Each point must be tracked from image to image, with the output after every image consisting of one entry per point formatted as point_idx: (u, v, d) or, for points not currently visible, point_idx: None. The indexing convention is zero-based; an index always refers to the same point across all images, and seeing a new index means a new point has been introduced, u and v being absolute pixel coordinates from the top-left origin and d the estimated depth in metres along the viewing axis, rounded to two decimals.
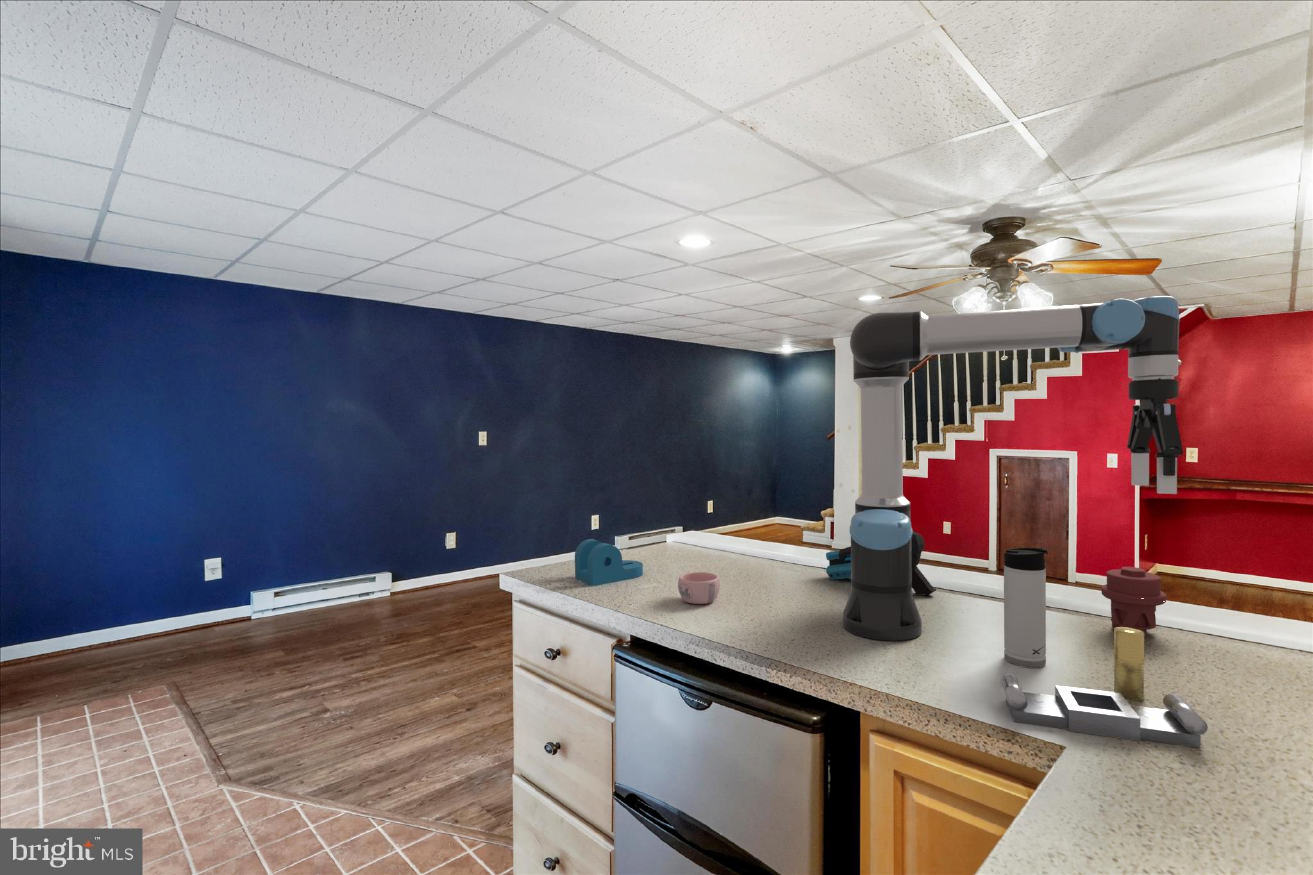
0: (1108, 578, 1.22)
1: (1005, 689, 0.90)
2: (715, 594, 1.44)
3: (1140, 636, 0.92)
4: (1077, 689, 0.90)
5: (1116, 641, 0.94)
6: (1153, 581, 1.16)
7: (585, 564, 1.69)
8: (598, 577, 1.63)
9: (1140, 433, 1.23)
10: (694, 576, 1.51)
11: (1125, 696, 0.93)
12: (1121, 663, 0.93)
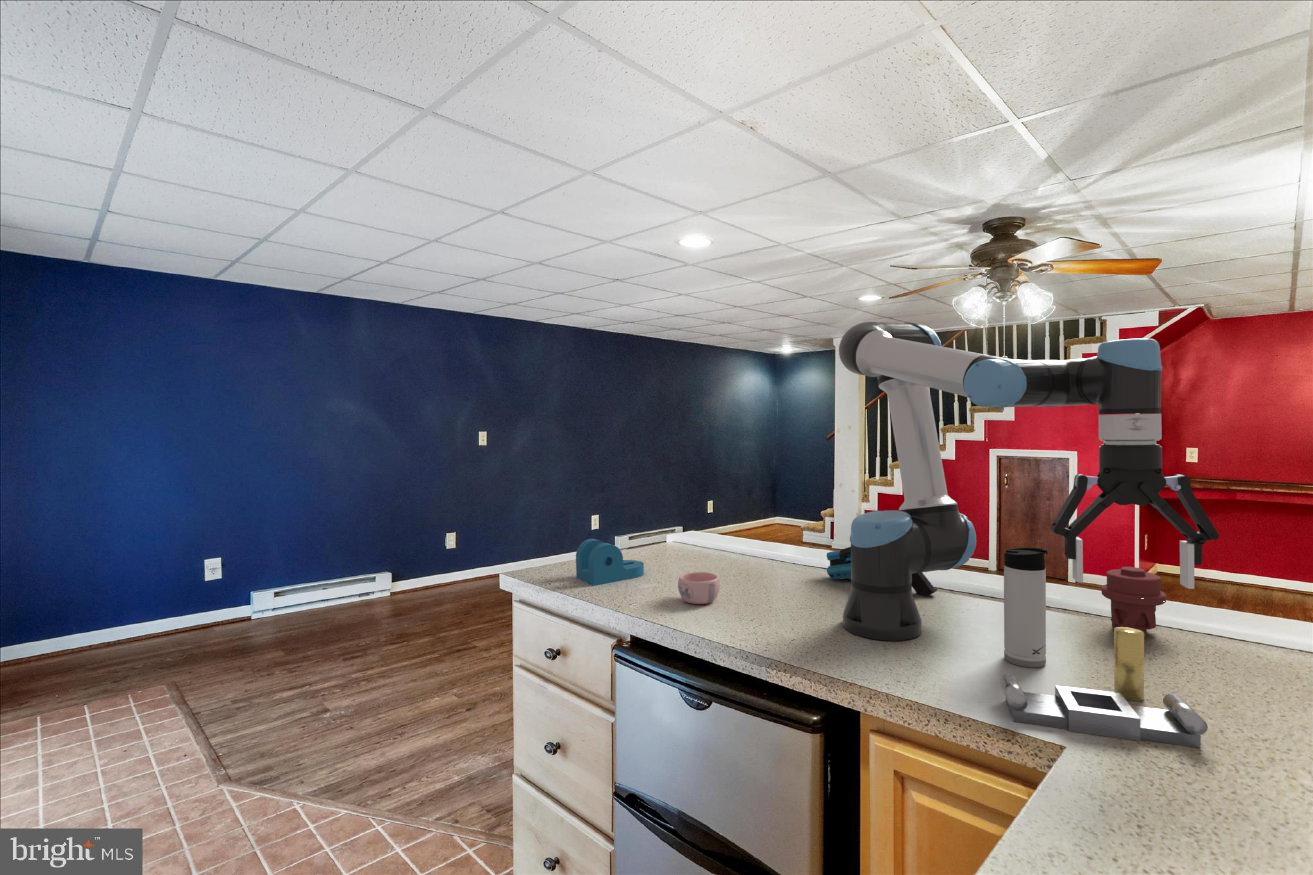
0: (1108, 578, 1.22)
1: (1005, 689, 0.90)
2: (715, 594, 1.44)
3: (1140, 636, 0.92)
4: (1077, 689, 0.90)
5: (1116, 641, 0.94)
6: (1153, 581, 1.16)
7: (586, 564, 1.70)
8: (599, 577, 1.63)
9: (1160, 512, 0.92)
10: (694, 576, 1.51)
11: (1125, 696, 0.93)
12: (1121, 663, 0.93)
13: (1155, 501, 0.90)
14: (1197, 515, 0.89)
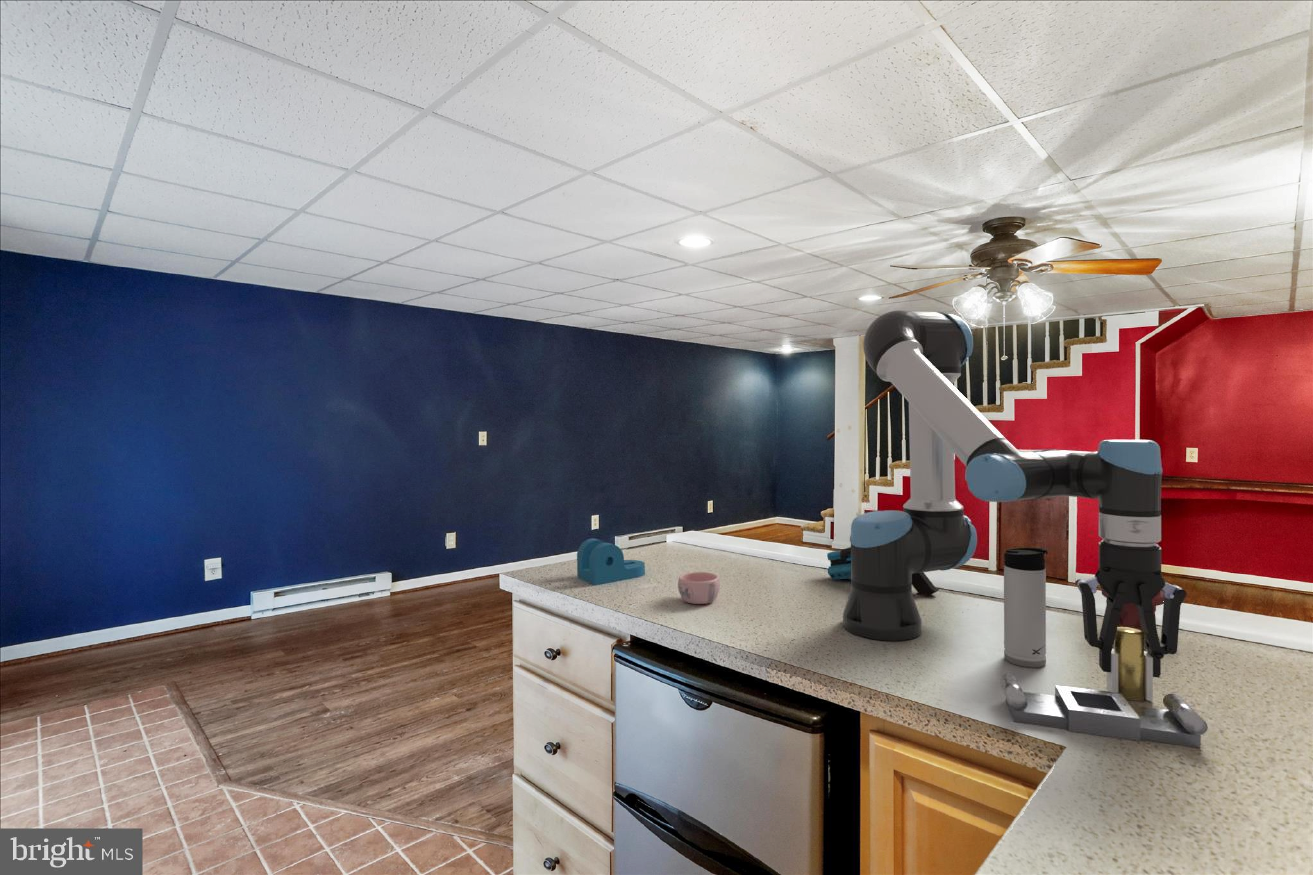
0: None
1: (1005, 689, 0.90)
2: (715, 594, 1.44)
3: (1140, 636, 0.92)
4: (1077, 689, 0.90)
5: (1116, 641, 0.94)
6: None
7: (587, 564, 1.70)
8: (600, 577, 1.64)
9: (1139, 615, 0.94)
10: (694, 576, 1.51)
11: (1125, 696, 0.93)
12: (1121, 663, 0.93)
13: (1144, 604, 0.91)
14: (1170, 627, 0.91)
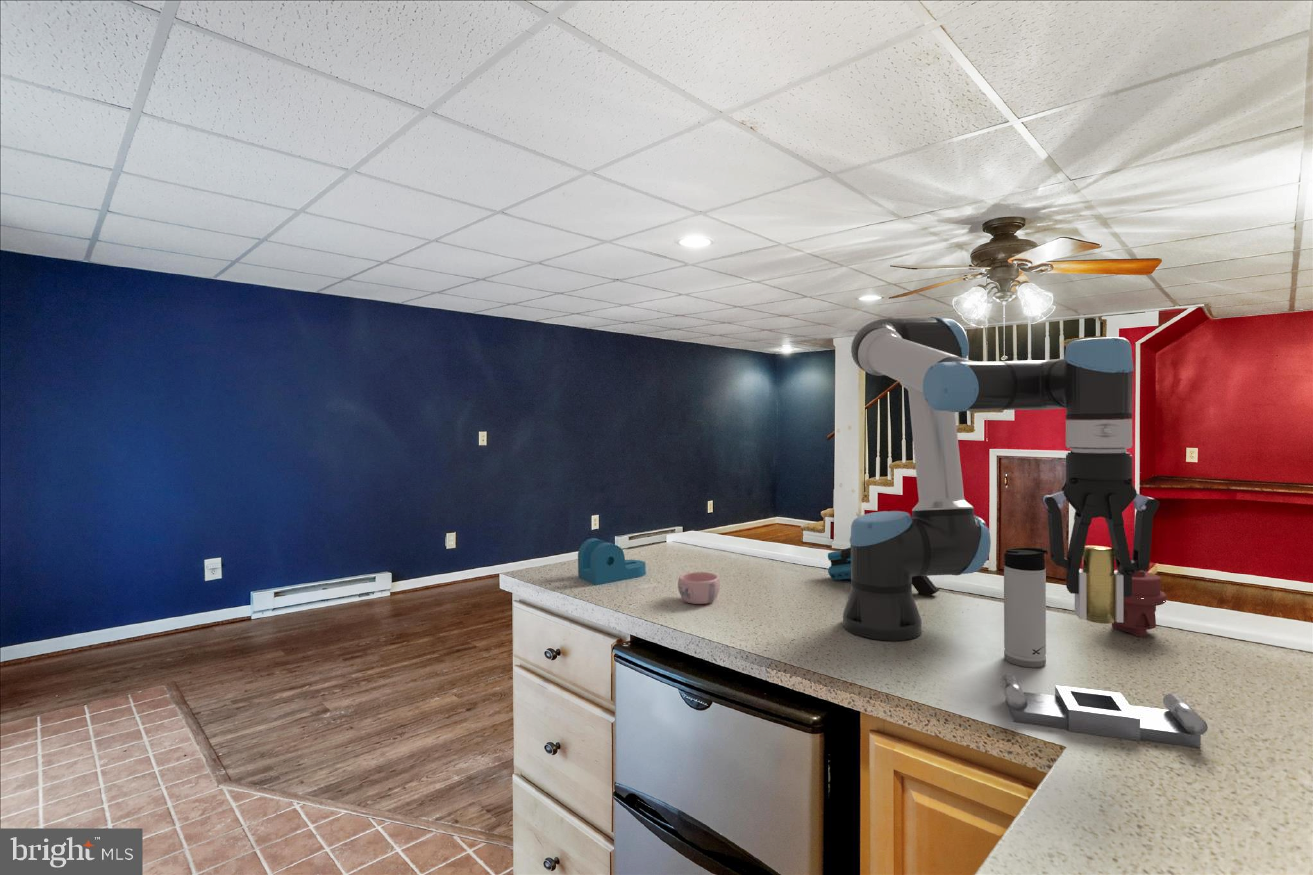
0: None
1: (1005, 689, 0.90)
2: (715, 594, 1.44)
3: (1110, 552, 0.84)
4: (1077, 689, 0.90)
5: (1084, 560, 0.86)
6: (1153, 581, 1.16)
7: (588, 564, 1.70)
8: (601, 576, 1.64)
9: (1109, 531, 0.86)
10: (694, 576, 1.51)
11: (1094, 619, 0.85)
12: (1089, 583, 0.85)
13: (1113, 516, 0.84)
14: (1141, 541, 0.83)
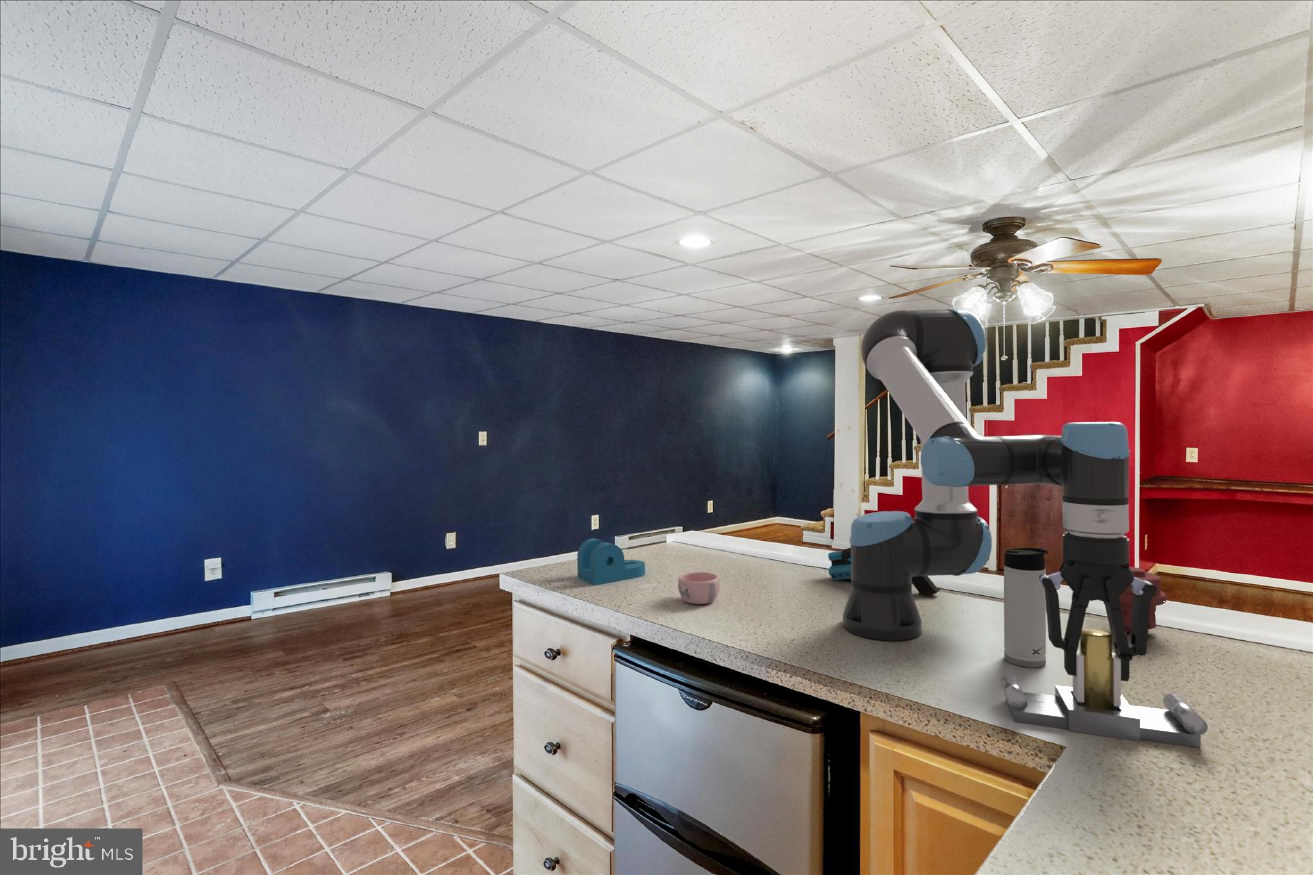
0: None
1: (1005, 689, 0.90)
2: (715, 594, 1.44)
3: (1107, 639, 0.84)
4: None
5: (1082, 644, 0.86)
6: (1153, 581, 1.16)
7: (587, 564, 1.70)
8: (601, 576, 1.64)
9: (1107, 613, 0.86)
10: (694, 576, 1.51)
11: (1092, 705, 0.85)
12: (1087, 669, 0.85)
13: (1110, 601, 0.84)
14: (1139, 626, 0.83)
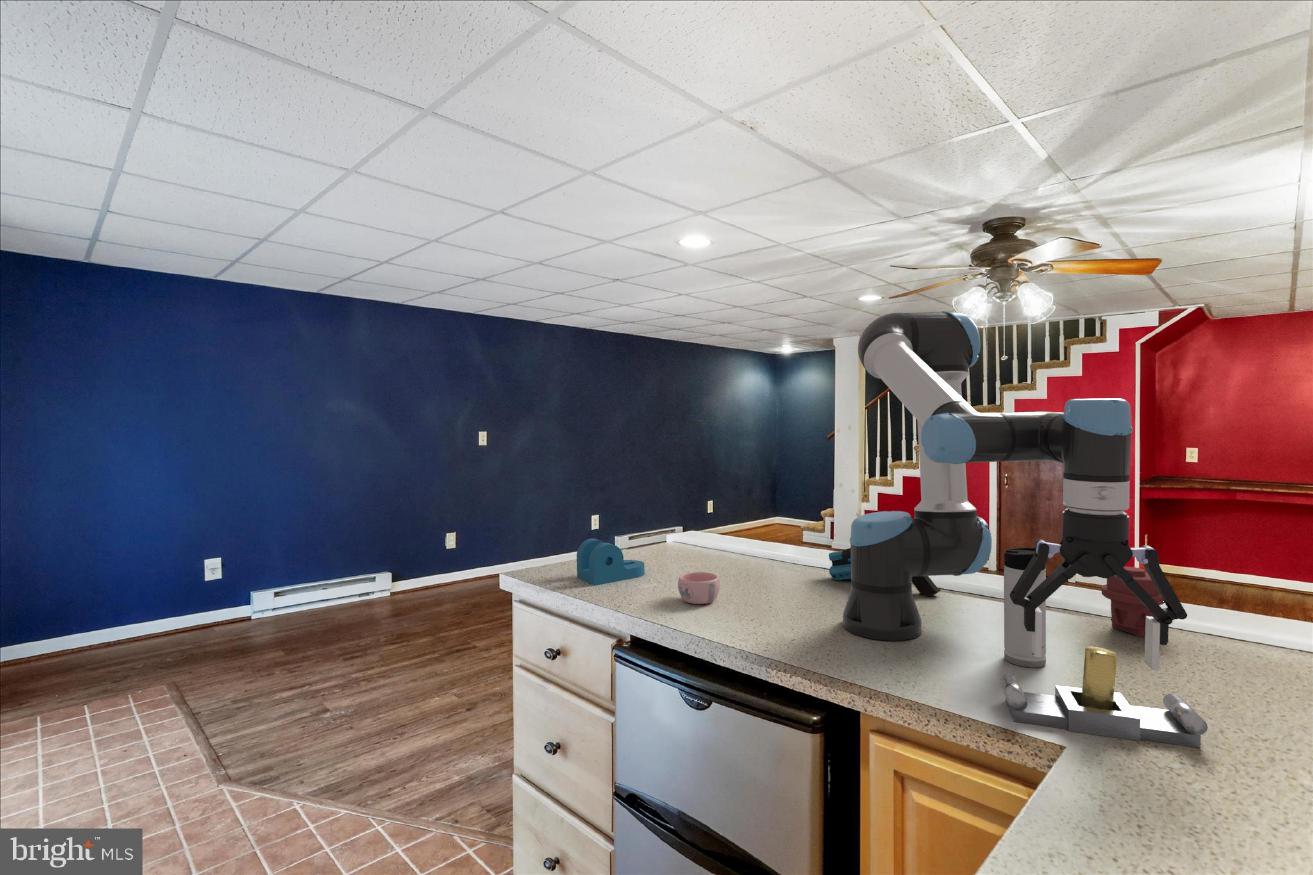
0: None
1: (1005, 689, 0.90)
2: (715, 594, 1.44)
3: (1112, 658, 0.84)
4: (1077, 689, 0.90)
5: (1086, 662, 0.86)
6: None
7: (587, 564, 1.70)
8: (600, 577, 1.64)
9: (1126, 585, 0.85)
10: (694, 576, 1.51)
11: None
12: (1089, 686, 0.85)
13: (1120, 575, 0.83)
14: (1164, 593, 0.82)
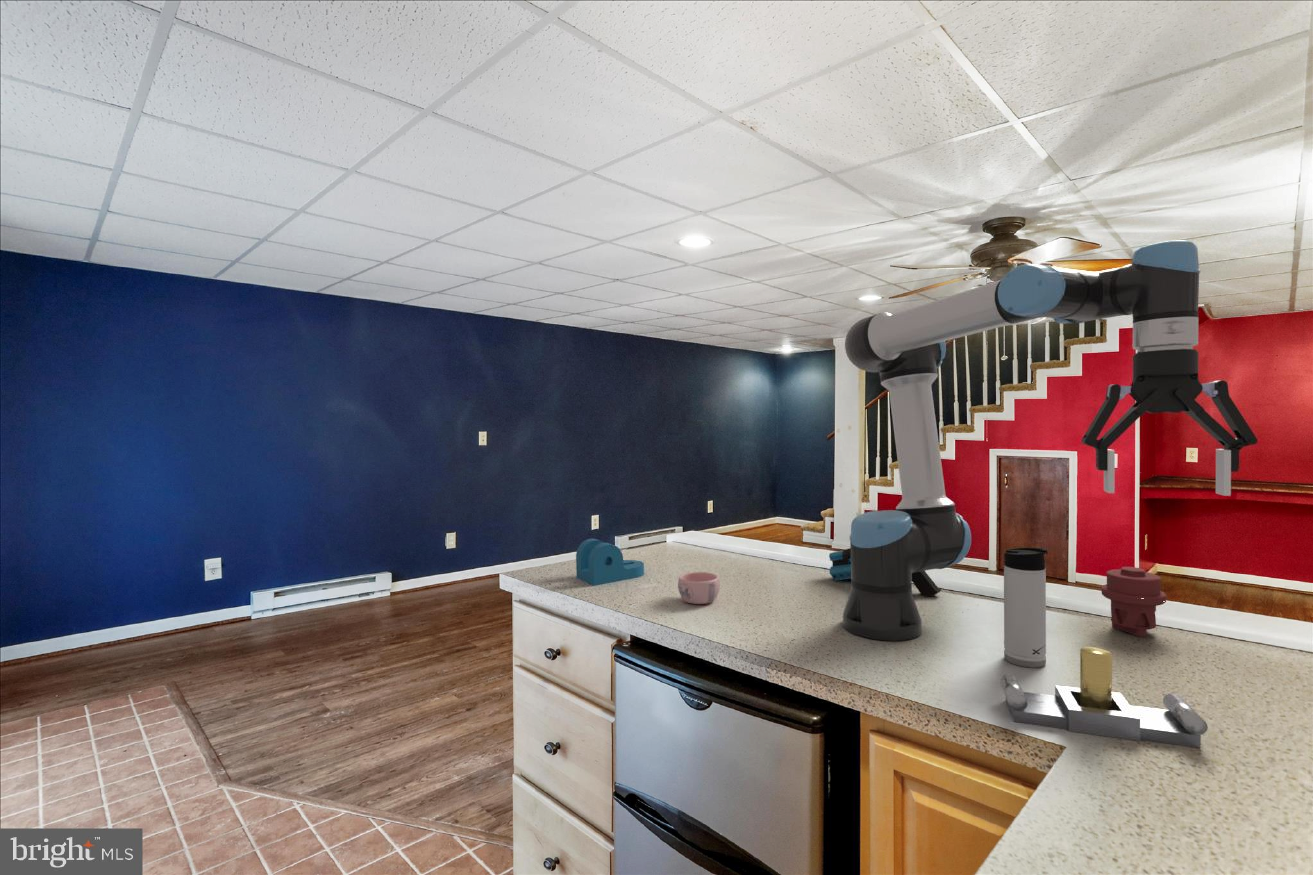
0: (1108, 578, 1.22)
1: (1005, 689, 0.90)
2: (715, 594, 1.44)
3: (1107, 658, 0.84)
4: (1077, 689, 0.90)
5: (1082, 663, 0.86)
6: (1153, 581, 1.16)
7: (586, 564, 1.70)
8: (599, 577, 1.63)
9: (1196, 420, 0.90)
10: (694, 576, 1.51)
11: None
12: (1087, 687, 0.85)
13: (1191, 407, 0.89)
14: (1234, 421, 0.87)
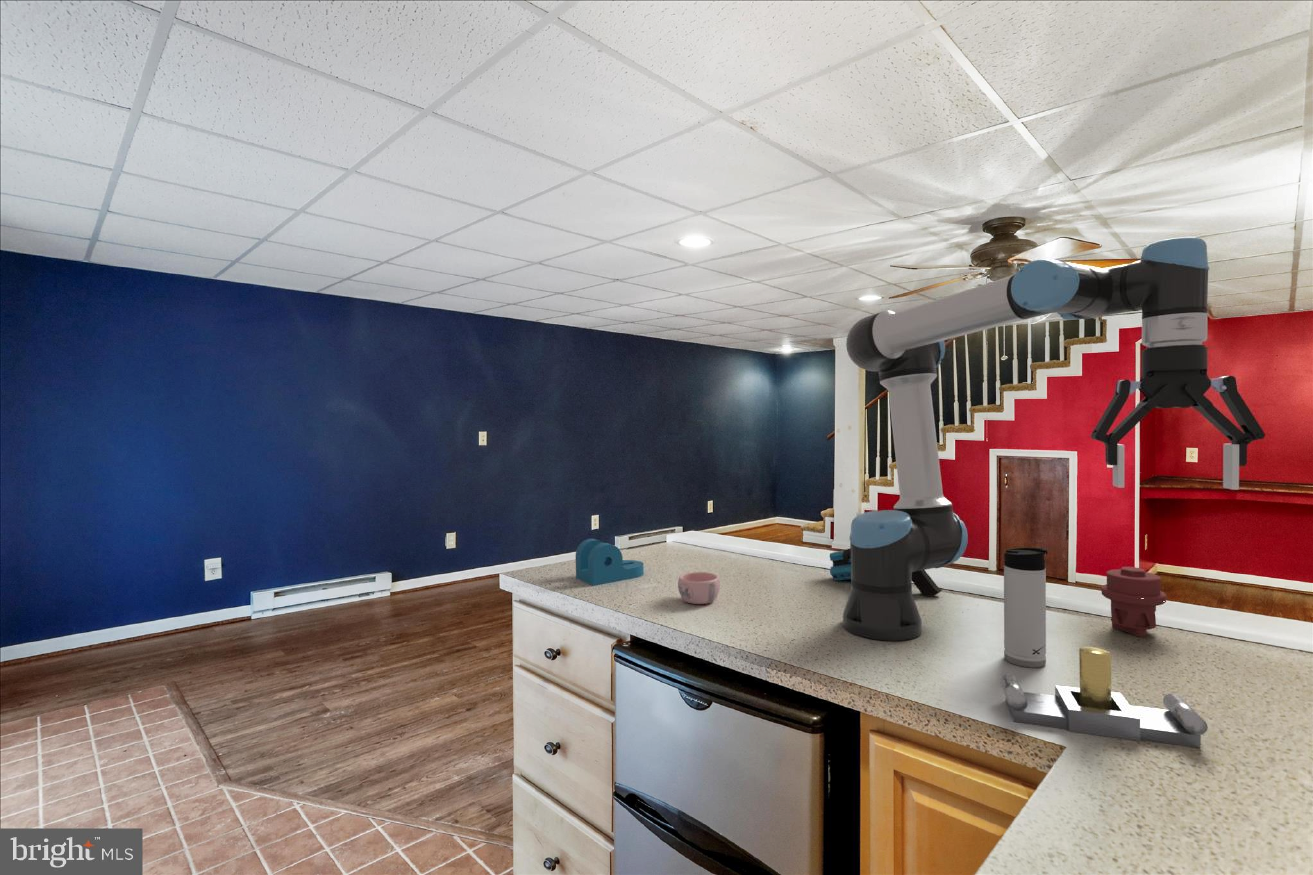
0: (1108, 578, 1.22)
1: (1005, 689, 0.90)
2: (715, 594, 1.44)
3: (1106, 657, 0.84)
4: (1077, 689, 0.90)
5: (1081, 663, 0.86)
6: (1153, 581, 1.16)
7: (586, 564, 1.70)
8: (599, 577, 1.63)
9: (1204, 415, 0.91)
10: (694, 576, 1.51)
11: None
12: (1086, 687, 0.85)
13: (1200, 402, 0.90)
14: (1243, 415, 0.88)
